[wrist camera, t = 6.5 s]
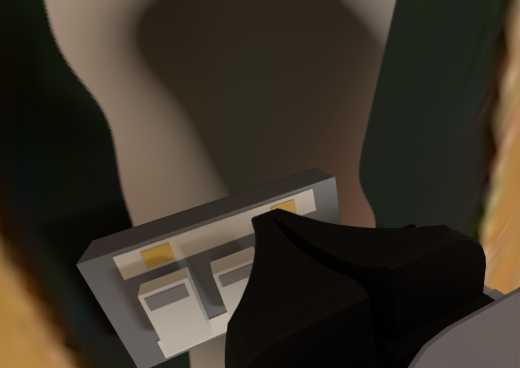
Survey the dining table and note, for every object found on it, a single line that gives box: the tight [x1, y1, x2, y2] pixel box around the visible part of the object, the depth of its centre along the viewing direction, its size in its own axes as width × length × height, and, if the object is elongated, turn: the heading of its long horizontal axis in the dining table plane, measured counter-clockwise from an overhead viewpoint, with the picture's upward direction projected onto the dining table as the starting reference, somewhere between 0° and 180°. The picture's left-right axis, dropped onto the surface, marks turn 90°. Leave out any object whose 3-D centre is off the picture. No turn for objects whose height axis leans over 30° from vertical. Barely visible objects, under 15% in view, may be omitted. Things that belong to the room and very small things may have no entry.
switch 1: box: [138, 267, 212, 355], centre depth 16 cm, size 5×3×1 cm, turn 13°
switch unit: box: [76, 168, 341, 368], centre depth 20 cm, size 10×18×3 cm, turn 103°
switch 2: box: [210, 246, 255, 318], centre depth 17 cm, size 5×3×1 cm, turn 13°
